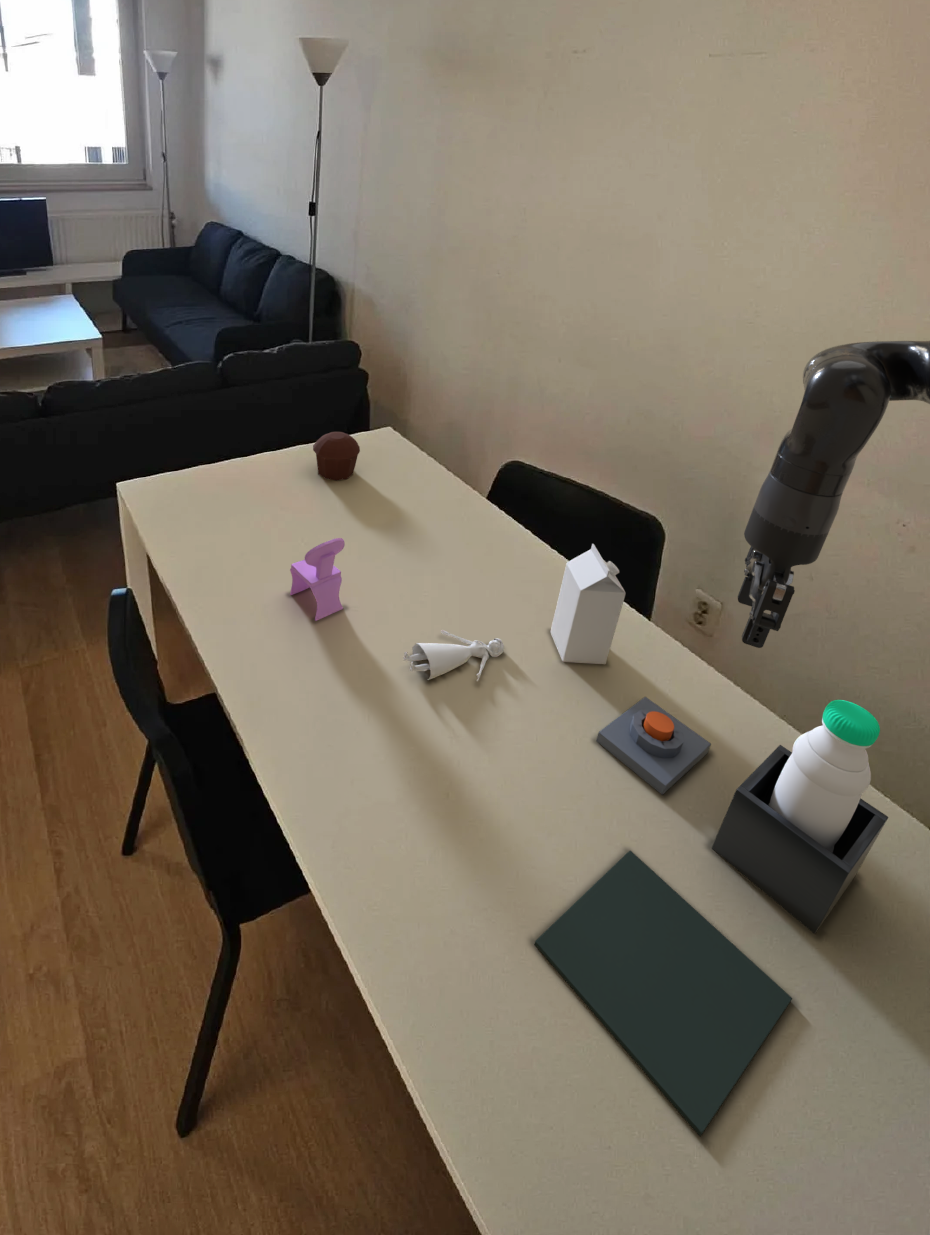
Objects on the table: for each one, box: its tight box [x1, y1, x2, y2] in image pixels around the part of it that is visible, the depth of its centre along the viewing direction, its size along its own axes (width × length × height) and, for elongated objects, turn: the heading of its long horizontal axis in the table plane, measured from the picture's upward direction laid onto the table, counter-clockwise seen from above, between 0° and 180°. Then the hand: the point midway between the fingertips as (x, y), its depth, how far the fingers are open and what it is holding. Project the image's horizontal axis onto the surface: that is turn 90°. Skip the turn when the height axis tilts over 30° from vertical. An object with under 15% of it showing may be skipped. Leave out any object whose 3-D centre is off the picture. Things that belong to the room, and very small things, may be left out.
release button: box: [643, 711, 674, 741], centre depth 96 cm, size 4×4×2 cm
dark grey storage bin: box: [711, 744, 889, 934], centre depth 81 cm, size 11×11×11 cm
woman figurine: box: [402, 629, 505, 682], centre depth 111 cm, size 12×4×18 cm
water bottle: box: [768, 699, 881, 853], centre depth 78 cm, size 7×7×25 cm
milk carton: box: [550, 543, 626, 665], centre depth 111 cm, size 7×7×19 cm
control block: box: [595, 696, 712, 796], centre depth 97 cm, size 12×10×4 cm
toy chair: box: [289, 537, 346, 622], centre depth 120 cm, size 8×9×15 cm
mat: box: [533, 850, 793, 1137], centre depth 72 cm, size 18×18×1 cm
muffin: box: [312, 431, 361, 482], centre depth 166 cm, size 12×11×10 cm
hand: (748, 622), depth 86 cm, fingers open, 8 cm apart
